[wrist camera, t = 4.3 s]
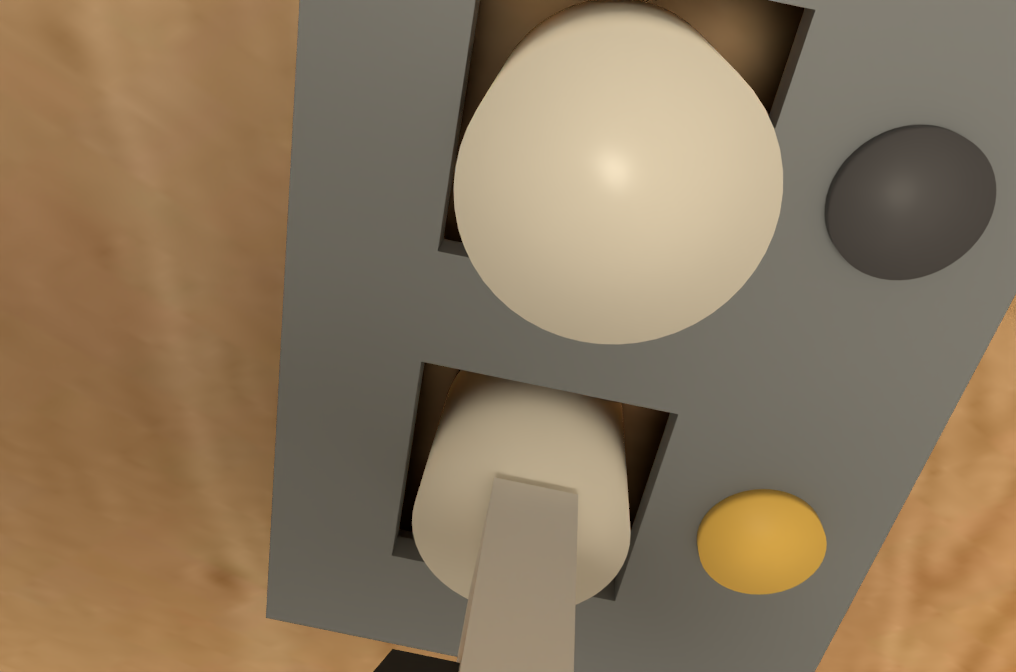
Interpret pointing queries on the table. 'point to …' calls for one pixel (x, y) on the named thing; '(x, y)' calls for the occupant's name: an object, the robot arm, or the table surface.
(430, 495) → the button
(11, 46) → the table surface
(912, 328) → the console
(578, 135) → the button
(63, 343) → the table surface
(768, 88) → the table surface
